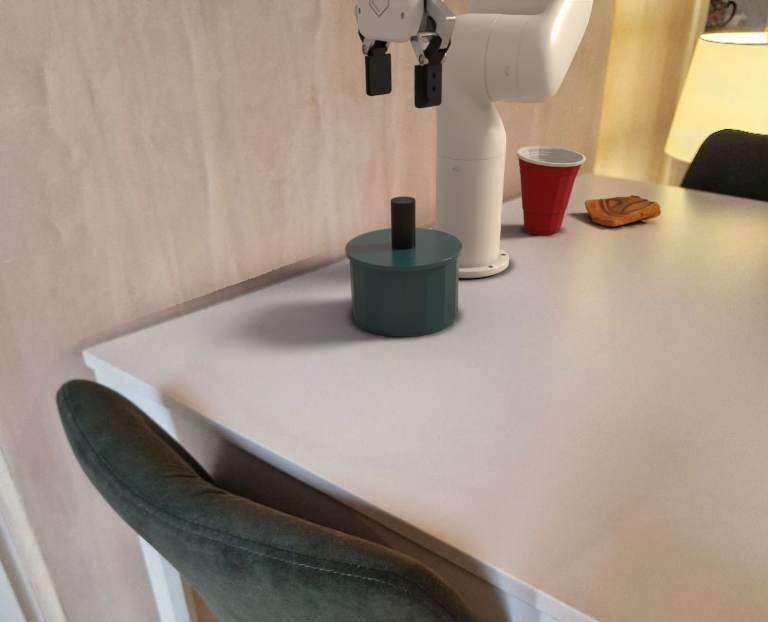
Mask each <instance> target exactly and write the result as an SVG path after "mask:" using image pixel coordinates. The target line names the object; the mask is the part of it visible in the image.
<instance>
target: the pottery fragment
mask: <svg viewBox="0 0 768 622" xmlns="http://www.w3.org/2000/svg"><path fill="white" fill-rule="evenodd" d="M584 206H585V207H584V208H585V210H586V211H587V213H588V215H589V216H590V218H591V221H592V222H593V223H595V224H598V225H601V226H605V227H618V226H623V225H627V224H630V223H634V222H637V221H647V220H651V219H655V218H657V217H659V216H661V214H662V210H661V206H660V204H659V203H658V202H657V201H651V200H649V199H647V198H642V197H640V196H639V195H634V194H631V195H630V196H629V195H628V196H615V197H608V198H607V197H606V198H598V199H587V200H584Z"/></svg>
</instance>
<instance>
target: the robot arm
mask: <svg viewBox="0 0 768 622" xmlns="http://www.w3.org/2000/svg"><path fill="white" fill-rule="evenodd" d="M593 3H594V0H469V5H468V13H461V14H458V15H456V14H455V13H454V12H453V11H452V10H451V9H450V8H449V7H448V5H447V4H446V3H445V2H444V0H357V4H356V5H355V6H354V16H355V19H356V24H357V28H358V31H357V32H358V36H359V39H360V41H361V43H362V45H361V52H362V54H363V55H364V68H365V69H364V70H365V71H364V73H365V75H364V76H365V94H366V95H367V96H368V97H376V96H385V95H389V94H392V92H393V91H392V90H393V88H392V87H393V86H392V85H393V82H392V81H393V80H392V79H393V78H392V53H388V50H389V48H390V45H391V43H395V44H405V43H407V42H410V44H411V47H412V49H413V52H414V55H415V57H416V60H417V62H418V64H414V68H413V69H414V72H413V74H414V75H413V76H414V78H413V80H414V81H413V83H414V84H413V85H414V88H413V89H414V93H413V94H414V99H413V101H414V107H415V108H416V109H425V108H432V107H435V115H436V116H435V117H436V155H435V156H436V158H435V159H436V163H435V164H436V165H435V166H436V167H435V168H436V169H435V174H436V175H435V222H434V224H433V225H432V228H431V227H428V229H433V230H438V231H442V232H445V233H448V234H451V235H453V236H455V237H456V238H458V239H459V240H460V241H461V243H462V253H461V255H460V256H459V279H477V278H484V277H489V276H494V275H497V274H500V273H502V272H503V271H505V270H506V269H507V268H508V267H509V264H510V255H509V254H508V253H507V251H506V250H504V249H502V248H501V247H500V246H501V245H500V244H501V229H502V214H503V212H502V211H503V198H504V186H505V185H504V182H505V167H506V154H507V153H506V152H507V133H506V129H505V125H504V122H503V120H502V117H501V116H500V114H499V111H498V110H497V108H496V106H495V104H494V102H502V103H518V104H519V103H520V104H541V103H545V102H547V101H549V100H550V99H553V97H554V96H555V95H556V94H557V92H558V90H559V89H560V87H561V86H562V84H563V81H564V80H565V78H566V76H567V73H568V70H569V68H570V66H571V64H572V62H573V59H574V57H575V55H576V53H577V51H578V48H579V46H580V44H581V42H582V40H583V37H584V35H585V33H586V30H587V27H588V25H589V21H590V18H591V15H592V10H593ZM427 43H428V44H427ZM425 44H427V46H426V45H425Z"/></svg>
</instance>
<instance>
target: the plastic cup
mask: <svg viewBox="0 0 768 622" xmlns="http://www.w3.org/2000/svg"><path fill="white" fill-rule="evenodd" d="M516 156H517V158H518V167H519V174H520V191H521V193H520V194H521V208H522V216H523V226H524V230H525V232H527V233H529V234H532V235H539V236H550V235H556V234H557V233H559V232H560V230H561V227H562V225H563V221H564V218H565V213H566V211H567V209H568V205H569V202H570V199H571V195H572V192H573V188H574V185H575V182H576V178H577V176H578V173H579V172H580V169H581V167H582V165H583V164H584V163H585V161H586V159H587V157H586V156H585V155H584V154H582V153H580V152H578V151H575V150H571V149H567V148H564V147H556V146H548V145H547V146H544V145H533V146H524V147H520V148H518V149H517V150H516Z"/></svg>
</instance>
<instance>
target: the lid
mask: <svg viewBox="0 0 768 622" xmlns="http://www.w3.org/2000/svg"><path fill="white" fill-rule="evenodd" d="M416 202H417V201H416V198H415V197H412V196H404V195H403V196H396V197H393V198H391V199H390V228H389V227H388V228H381V229H377V230H371V231H368V232H365V233H361V234H359V235H357V236H354V237H353V238H351V239H350V240H349V241H348V242H347V243H346V244H345V247H344V253H345V257H346V258H347V259H348V261H349V262H350V261H352V262H353V263H355V264H357V265H360V266H363V267H366V268H370V269H375V270H382V271H397V272H403V271H419V270H426V269H432V268H436V267H440V266H443V265H446V264H448V263H451V262H453V261H454V260H456V259H457V258H458V257H459V256H460V255H461V253H462V243H461V241H460V240H459V239H458V238H456V237H455V236H453V235H451V234H448V233H445V232H442V231H438V230H433V228H431V229H429V228H425V227H416V225H417V224H416V217H417V216H416V209H417V208H416V207H417V206H416V204H417V203H416Z"/></svg>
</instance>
